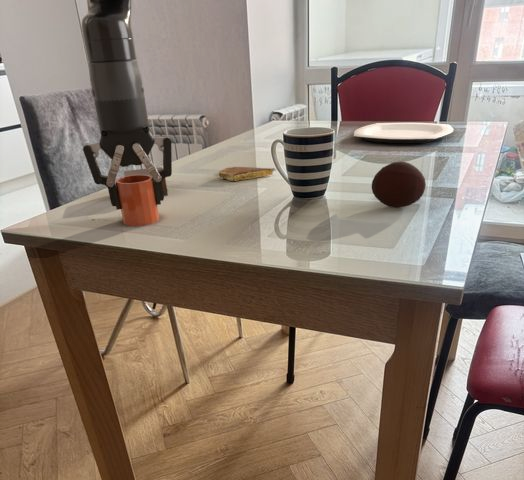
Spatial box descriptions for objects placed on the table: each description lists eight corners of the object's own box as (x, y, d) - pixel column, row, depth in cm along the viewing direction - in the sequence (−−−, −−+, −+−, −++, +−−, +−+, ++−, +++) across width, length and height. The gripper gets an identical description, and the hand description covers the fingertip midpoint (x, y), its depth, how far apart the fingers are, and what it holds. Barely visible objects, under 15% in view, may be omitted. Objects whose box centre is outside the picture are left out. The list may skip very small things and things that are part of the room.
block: (128, 199, 103) (124, 179, 101) (127, 190, 109) (123, 170, 107) (167, 195, 104) (164, 175, 102) (164, 185, 111) (161, 166, 109)
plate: (370, 128, 160) (370, 121, 159) (459, 130, 150) (460, 123, 148) (341, 144, 140) (342, 136, 139) (442, 148, 129) (443, 140, 128)
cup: (125, 234, 84) (115, 185, 80) (124, 223, 89) (115, 177, 85) (161, 229, 85) (153, 181, 81) (158, 219, 90) (151, 173, 86)
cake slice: (275, 175, 114) (274, 167, 113) (261, 183, 108) (261, 175, 107) (231, 173, 118) (231, 165, 117) (216, 181, 112) (215, 172, 111)
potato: (417, 216, 85) (423, 168, 81) (363, 211, 88) (366, 165, 84) (427, 203, 91) (433, 158, 87) (376, 199, 94) (379, 155, 90)
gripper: (164, 89, 81) (178, 195, 90) (71, 96, 78) (95, 205, 87) (168, 93, 75) (183, 206, 84) (67, 101, 72) (94, 217, 81)
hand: (138, 205), depth 85 cm, fingers closed on cup, 6 cm apart
